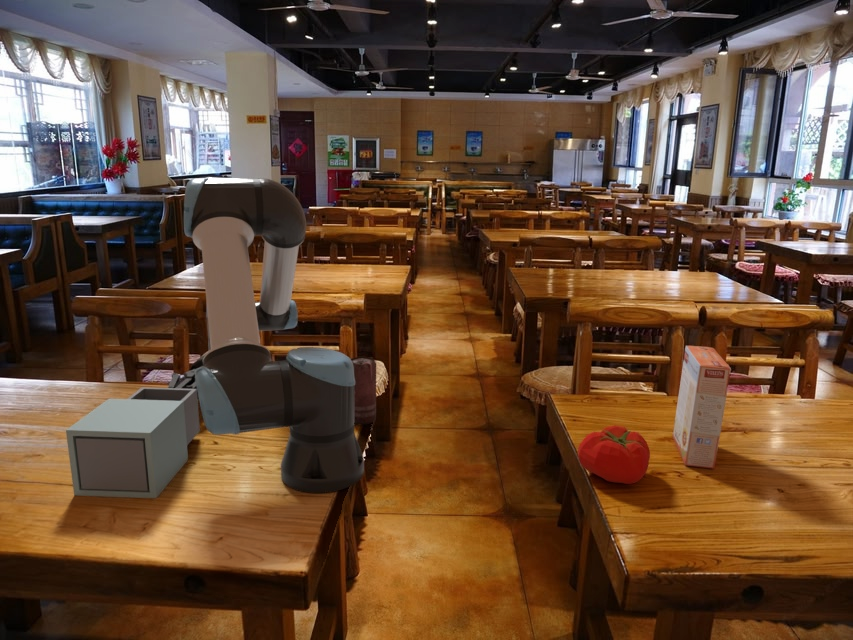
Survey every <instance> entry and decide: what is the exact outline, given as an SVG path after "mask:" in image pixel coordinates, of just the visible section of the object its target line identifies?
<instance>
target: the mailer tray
mask: <svg viewBox="0 0 853 640" xmlns="http://www.w3.org/2000/svg"><path fill="white" fill-rule="evenodd" d="M126 399H138V400H169V401H184V412H185V425H186V439H187V446H188V445H190V443H191V442H192V441H193V439H195V437H196V436H197V435H198V434H199V433H200V431H201V428H200V416H199V415H200V414H199V413H200V412H199V400H198V398H197V389H182V388H168V387H152V386H151V387H149V386H145V387H144V386H142V387H140V388H139V389H138V390H136V391H135V392H134V393H132V394H131V395H130V396H129V397H127V398H126ZM76 446H77V454H78V462H79V470H80V478H81V487H82V489H108V490H136V491H148V490H149V479H148V468H147V458H146V447H145V438H121V437H91V436H78V437H77V438H76Z"/></svg>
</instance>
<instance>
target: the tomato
mask: <svg viewBox="0 0 853 640" xmlns="http://www.w3.org/2000/svg"><path fill="white" fill-rule="evenodd" d="M577 456H578V460H579V462H580V465H581V466H582V467H583V468H584V469H586V471H588V472H590V473H592V474H594V475H595V476H597V477H599V478H602V479H603V480H605V481H607V482H608V483H617V484H618V483H620V484H625V485H626V484H627V485H632V484H635V483H637V482H639V481H640V480H641V479H643V477H644V476H645V474H646V472H647V470H648V468H649V462H650V458H651V451H650V448H649V444H648V442H647V441H646V439H645V438H644V436H642V435H641V434H640V433H639V432H637V431H634V430H633V431H632V430H628V429H627V428H626V427H625V426H620V425H611V426H607V427H605V428H603V429H601V431H593V432H590V433H588V434H586V436H584V438H583V440H582V441H581V442H580V443H579V446H578V449H577Z"/></svg>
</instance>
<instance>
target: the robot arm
mask: <svg viewBox="0 0 853 640" xmlns="http://www.w3.org/2000/svg"><path fill="white" fill-rule="evenodd" d="M183 206H184V207H183V208H184V210H183V230H184V235H185V236H186V237H188V238H191V239H192V242H193V244H194V245H195V246H196V247H197V249H199V250H200V251H201V254H202V255H201V257H202V266H203V276H204V278H203V279H204V288H205V299H206V304H205V305H206V313H205V315H206V327H207V339H208V340H207V343H208V345H207V346H208V351H206V352H204V353H203V354H202V355H201V356H200V357H199V358H198V359H197V360H196V361H194V362H193V363H192V364H191V367H190V369H189V370H188V371H186V372H184V373H183V374H180V373H177V372H173V373H171V379H170V382H169V384H168V386H167V388H182V389H197V398H198V404H199V407H200V412H201V416H202V418H203V423H204V425H205V428H206V430H207V431H208V432H209V433H210V434H213V435H215V436H216V435H217V436H220V435H221V436H222V435H239V434H243V433H249V432H256V431H257V432H258V431H263V430H265V431H266V430H273V429H281V428H287V427H288V428H289V436H288V440H287V444H286V446H285V449H284V450H285V451H284V453H283V457H282V459H281V463H280V475H281V480H282V482H283V483H284V484H285V485H287V486H288V487H289V488H291V489H294V490H297V491H300V492H304V493H312V494H313V493H315V494H323V493H333V492H338V491H342V490H344V489H347V488H350V487H352V486H353V485H355V484H356V483H359V481H360V480H361V479H362V478H363V476H364V474H365V460H364V458H365V457H364V456H363V453H362V449H361V447H360V445H359V442H358V439H357V436H356V433H355V424H354V385H355V378H354V367H353V363H352V361H351V359H352V358H350V357H349V356H347V355H346V354H344V353H343V352H340V351H337V350H334V349H329V348H326V347H325V348H324V347H318V346H317V347H314V346H303V347H301V346H299V347H297V348H293V349H291V350H289V351H288V352H287V353H286V357H285V359H283V360H272V355H271V354H272V353H271V352H270V351H271V350H269V348H268V347H266V346H264V345H262V344H261V337H260V332H263V331H265V332H266V331H284V330H288V329H295V328H296V326H297V325H298V317H299V315H298V308H297V303H296V301H295V300H293V299H292V297H293V296H292V294H293V291H294V280H295V275H296V270H297V269H296V267H297V263H298V255H299V248H300V245H302V243H304V242H305V238H306V234H307V220H306V214H305V211H304V209H303V207H302V204H301V203H300V201H299V200H298V198H297V197H296V195H294V193H293V192H292V191H291V190H289V188H287V187H286V186H285V185H283V184H282V183H281V182H278V181H276V180H274V179H269V178H264V177H263V178H262V177H260V178H249V177H248V178H246V177H245V178H242V177H241V178H237V177H236V178H235V177H211V176H207V177H199V178H196V177H195V178H191V179H190V180H188V182H187V183H186V186H185V191H184V203H183ZM256 236H257V237H258V236H261V238H262V239H263V241H264V243H263V245H264V246H263V247H264V248H263V257H262V270H261V271H262V273H261V283H260V284H261V285H260V297H259V301H256V300H255V293H254V285H253V278H252V271H251V270H252V269H251V264H250V261H251V260H250V255H249V247H250V246H251V245H252V243H253V242H254V238H255V237H256Z"/></svg>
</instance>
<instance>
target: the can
mask: <svg viewBox="0 0 853 640" xmlns="http://www.w3.org/2000/svg"><path fill="white" fill-rule="evenodd" d="M350 359H351V361H352V363H353V367H354V378H355V385H354V423H355V424H354V425H358V424H361V425H360V426H362V425H369V424H372V423H374V422H375V420H376V418H377V362H376V361H375V359H374V358H373V357H369V356H356V357H352V358H350Z"/></svg>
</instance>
